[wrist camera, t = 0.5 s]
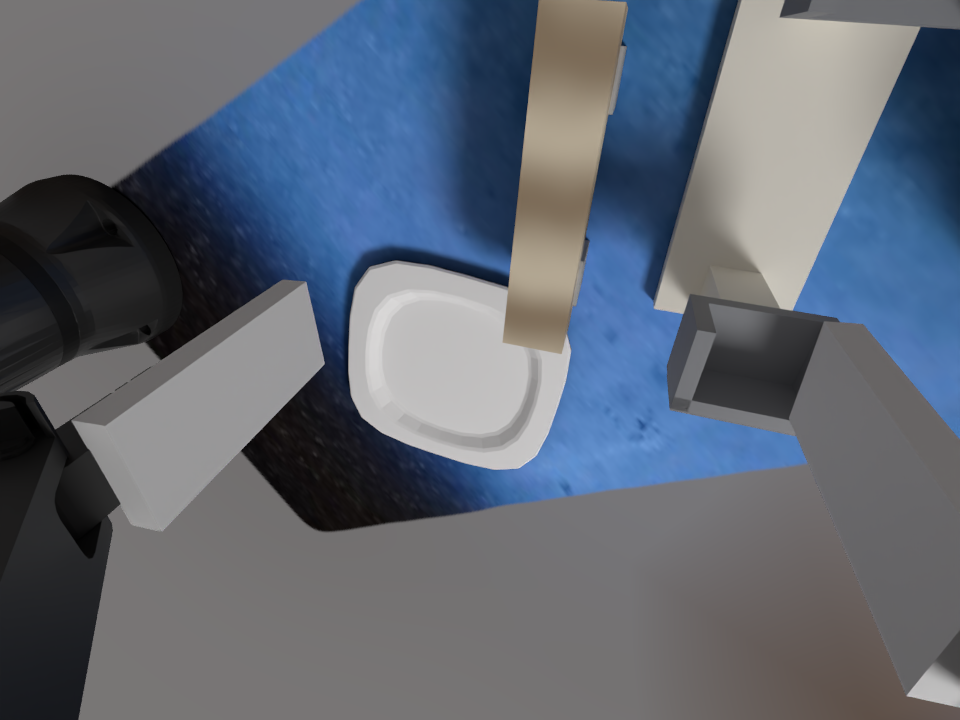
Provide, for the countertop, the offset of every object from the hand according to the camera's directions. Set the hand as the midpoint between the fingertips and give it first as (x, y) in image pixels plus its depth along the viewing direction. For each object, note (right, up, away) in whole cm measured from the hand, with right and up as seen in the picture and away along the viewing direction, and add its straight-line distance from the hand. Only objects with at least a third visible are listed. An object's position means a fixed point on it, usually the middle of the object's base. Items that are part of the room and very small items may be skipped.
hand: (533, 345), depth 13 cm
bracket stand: (+15, +11, +15) cm, 24 cm away
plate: (-3, -1, +29) cm, 29 cm away
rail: (+3, +9, +15) cm, 18 cm away
